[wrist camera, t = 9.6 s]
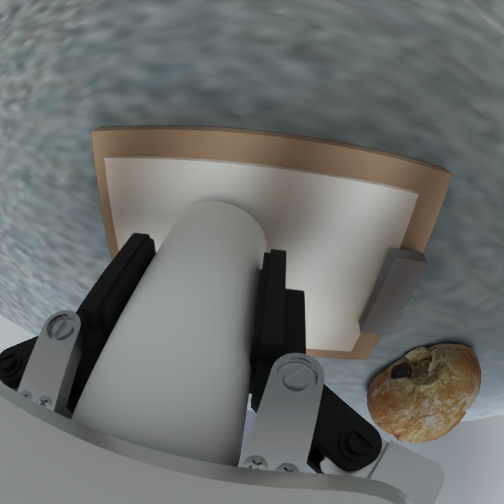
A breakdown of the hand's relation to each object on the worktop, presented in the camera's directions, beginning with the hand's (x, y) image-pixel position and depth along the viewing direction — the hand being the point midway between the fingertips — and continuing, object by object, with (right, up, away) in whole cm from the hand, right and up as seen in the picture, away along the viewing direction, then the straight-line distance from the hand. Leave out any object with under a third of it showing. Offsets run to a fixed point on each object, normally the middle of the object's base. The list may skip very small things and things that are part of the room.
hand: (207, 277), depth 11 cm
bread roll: (+16, -9, +10) cm, 21 cm away
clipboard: (+2, 0, +4) cm, 5 cm away
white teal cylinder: (0, +2, +2) cm, 3 cm away
